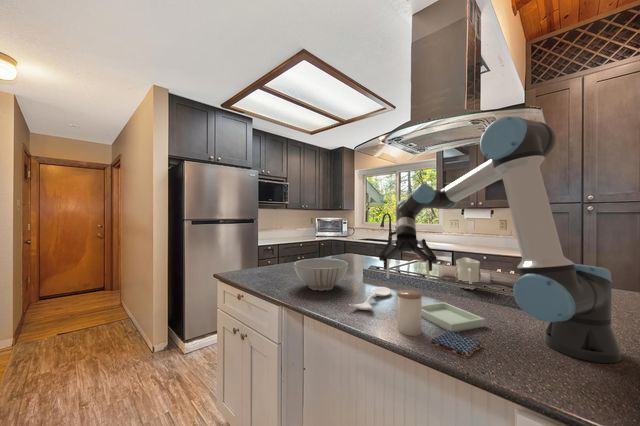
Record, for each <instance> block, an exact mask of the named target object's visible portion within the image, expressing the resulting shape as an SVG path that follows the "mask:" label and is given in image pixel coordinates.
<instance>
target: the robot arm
mask: <svg viewBox="0 0 640 426" xmlns="http://www.w3.org/2000/svg"><path fill="white" fill-rule="evenodd" d="M479 140H480V141H479V149H480V152H481V154H483V156H484V157H485V158H487V159H488V160H487V161H485V162H483V163H482V164H480V165H478V166H477V167H475V168H474V169H472V170H470V171H469V172H467V173H466V174H464V175H463V176H460V177H459V178H457V179H456V180H455V181H453V182H451V183H449V184H448V185H446V186H445V187H443V188H440V189H434V188H433V187H432V186H431V185H429V184H426V183H420V184H418V186H417V187H416V188H414V189H413V191H411V193H410V195H409V196H408V197H407V198H405V199H402V200H399V201H398V203H397V204H396V210H395V212H396V217H395V218H396V239H392V238H388V241H387V243H386V245H385V246H384V247H383V249H382V251H381V252H380V254H379V255H378V256H379V258H378V260H379V261H383V269H384V270H386V279H390V260H391V259H393V257H394V256H395V255H397V254H399V253H400V251H402V252H413V253H414V254H416V255H417V256H418V257H420V258H421V260H423V261H424V262H425V274H426V281H430V276H431V275H430V272H432V271H433V264H436V263H437V258H438V257H437V256H436V255H435V253H434V252H433V250H432V249H431V248H430V247H429V245H428V244H427V242H426V239H425V238H422V240H418V239H417V225H416V223H417V222H416V217H417V216H418V215H419V214H420V213H421V212H423V210H424V209H445V210H447V209H453V208H455V207H456V206H457V205H458V203H459V201H461V200H462V199H463V200H464V199H465V198H467V197H469V196H471V195H472V194H474V193H476V192H478V191H481V190H482V189H484V188H486V187H487V186H490V185H491V184H493V183H495V182H498V181H499V180H501V179H502V182H503V186H504V188H505V189H504V190H505V195H506V198H507V203H508V207H509V211H510V215H511V217H512V218H511V219H512V222H513V226H514V232H515V236H516V240H517V243H518V247H519V252H520V256H521V261H520V262H519V264H518V265H517V266H516V268H517V273H518V276H519V277H518V278H517V279H516V282H515V283H513V289H512V291H513V296H514V300H515V301H516V303H517V305H518V306H519V307H520V309H521V310H522V311H523V312H525V313H526V314H527V315H529V316H530V317H531V318H534V319H535V320H537V321H540V322H544V323H548V326H547V327H546V329H545V332H544V342H545V343H546V345H548V346H549V347H550V348H551V349H553V350H555V351H558V352H559V353H561V354H564V355H566V356H570V357H572V358H576V359H580V360H583V361H588V362H593V363H597V364H598V363H599V364H600V363H601V364H617V363H619V362H620V361H621V360H622V348H621V347H620V344H619V342H618V340H617V337H616V335H615V333H614V330H613V328H612V292H613V291H612V286H613V285H612V284H613V283H614V282H613V279H612V273H611V271H610V270H609V269H608V268H605V267H600V266H593V265H588V264H587V265H586V264H577V263H574V262H573V261H571V260H570V259H568V258H566V256H565V255H564V254H563V250H562V245H561V241H560V239H559V234H558V231H557V228H556V227H557V226H556V223H555V220H554V215H553V212H552V207H551V205H550V201H549V197H548V194H547V189H546V187H545V183H544V179H543V178H544V177H543V175H542V171H541V168H540V166H541V165H542V164H543V162H544V160H545V159H546V158H547V157H549V156H550V154H551V153H552V152H553V150H554V149H555V147H556V144H557V136H556V133H555V131H554V129H553V127H551V126H550V125H548V124H547V123H544V122H542V121H536V120H532V119H531V120H530V119H526V118H522V117H521V116H503V117H499V118H497V119H495V120H494V121H492V122H491V123H489V124H488V126H487V127H486V128H485V129H484V132H483V133H481V137H480V139H479ZM394 245H395V246H394ZM393 246H394V247H393ZM419 246H420V247H421V248H422V249H421V248H420V247H419ZM392 247H393V249H392Z"/></svg>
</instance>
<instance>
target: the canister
mask: <svg viewBox="0 0 640 426" xmlns="http://www.w3.org/2000/svg"><path fill="white" fill-rule="evenodd" d="M396 293H397V294H396V295H397V331H398V333H400V334H402V335H405V336H410V337H411V336H412V337H417V336H420V335H422V332H423V330H422V327H423V326H422V323H423V322H422V321H423V320H422V319H423V318H422V305H423V304H422V303H423V302H422V300H423V299H422V296H423V294H422V292H421V291H419V290H415V289H400V290H398V291H397V292H396Z"/></svg>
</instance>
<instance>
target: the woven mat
mask: <svg viewBox="0 0 640 426" xmlns="http://www.w3.org/2000/svg"><path fill="white" fill-rule="evenodd" d="M430 345H431V346H434V347H436V348H439V349H441V350H444V351H447V352H449V353H451V354H453V355H457V356H459V357H462V358H463V359H468V357H470V356H471V355H473V354H474V352H476V351H478V350H480V349H481V348H482V347H483V345H482V344H481V341H478V339H473V338H472V337H467V335H461V333H456V332H450V330H448V331H447V330H445V331H444V332H441V334H440V333H439V335H436V336H433V338H431V340H430Z"/></svg>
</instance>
